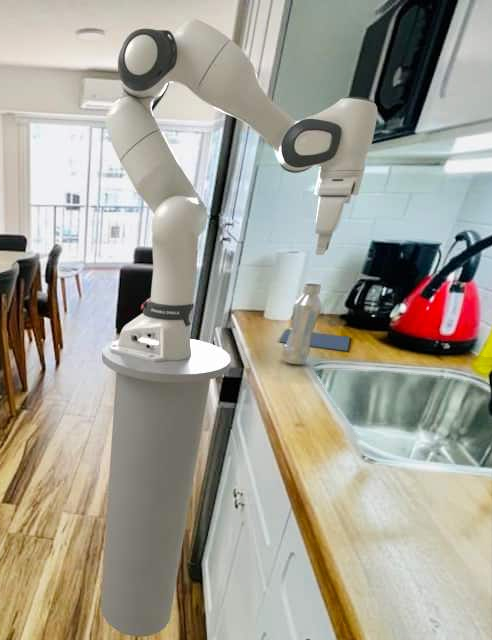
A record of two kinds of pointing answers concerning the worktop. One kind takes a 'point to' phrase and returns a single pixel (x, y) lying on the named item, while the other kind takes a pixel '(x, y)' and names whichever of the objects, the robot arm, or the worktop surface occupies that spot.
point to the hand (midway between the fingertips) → (321, 252)
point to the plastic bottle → (302, 325)
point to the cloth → (324, 341)
